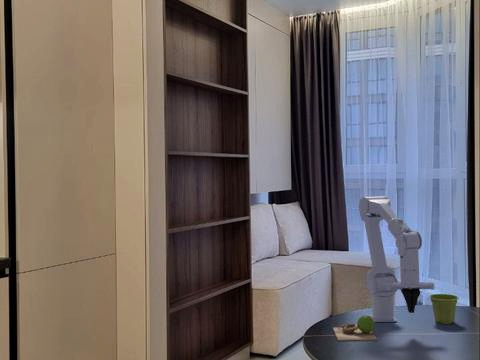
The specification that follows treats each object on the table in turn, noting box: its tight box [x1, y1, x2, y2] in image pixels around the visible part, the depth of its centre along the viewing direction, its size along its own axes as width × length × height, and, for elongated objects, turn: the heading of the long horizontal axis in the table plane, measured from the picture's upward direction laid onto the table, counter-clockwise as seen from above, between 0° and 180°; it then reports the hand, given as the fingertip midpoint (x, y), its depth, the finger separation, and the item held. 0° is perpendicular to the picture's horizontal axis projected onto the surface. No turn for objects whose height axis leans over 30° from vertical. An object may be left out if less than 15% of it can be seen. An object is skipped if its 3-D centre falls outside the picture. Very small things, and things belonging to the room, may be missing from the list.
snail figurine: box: [337, 315, 376, 333], centre depth 167 cm, size 5×6×12 cm
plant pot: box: [429, 293, 459, 325], centre depth 178 cm, size 9×9×9 cm
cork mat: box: [332, 326, 378, 342], centre depth 166 cm, size 14×12×1 cm
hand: (411, 312), depth 165 cm, fingers closed
